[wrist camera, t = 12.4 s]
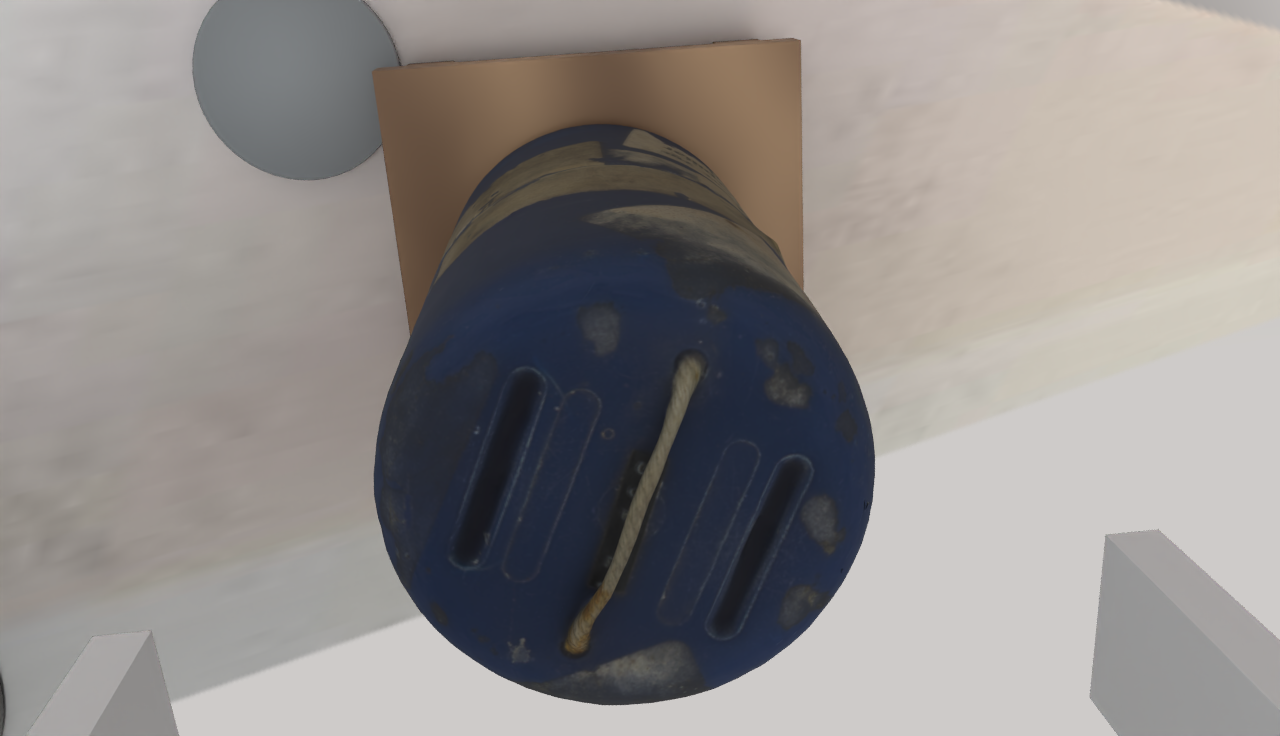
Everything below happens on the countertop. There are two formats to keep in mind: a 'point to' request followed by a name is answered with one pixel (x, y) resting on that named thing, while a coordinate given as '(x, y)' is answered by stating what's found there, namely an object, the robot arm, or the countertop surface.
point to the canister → (619, 430)
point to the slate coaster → (293, 82)
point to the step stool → (585, 95)
